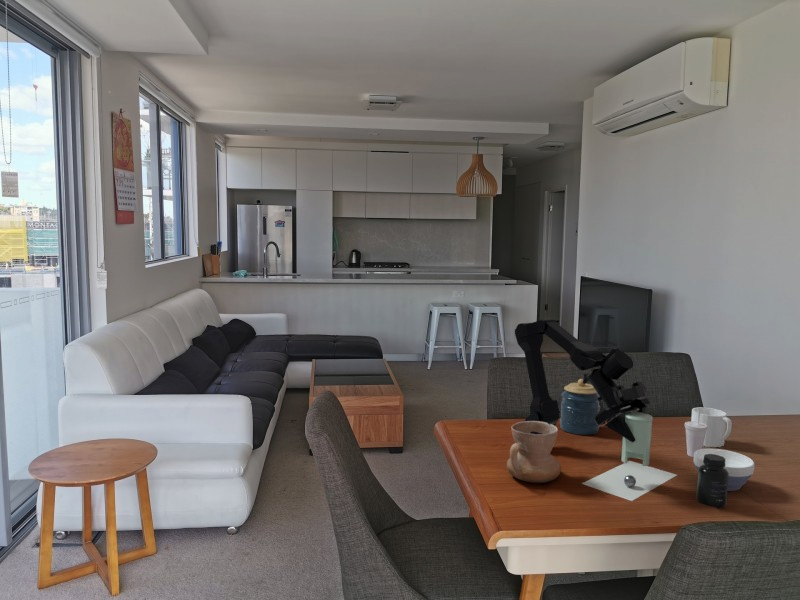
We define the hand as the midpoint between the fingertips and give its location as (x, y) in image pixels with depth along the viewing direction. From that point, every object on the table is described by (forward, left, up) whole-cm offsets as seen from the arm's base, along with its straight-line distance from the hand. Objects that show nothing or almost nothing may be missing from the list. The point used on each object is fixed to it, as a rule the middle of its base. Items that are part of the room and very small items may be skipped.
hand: (641, 438), depth 163 cm
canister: (-19, +45, -14) cm, 50 cm away
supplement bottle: (+17, -3, -14) cm, 22 cm away
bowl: (+21, +11, -14) cm, 27 cm away
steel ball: (-2, -2, -11) cm, 12 cm away
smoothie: (+16, +33, -13) cm, 39 cm away
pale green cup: (-1, +1, -7) cm, 7 cm away
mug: (+22, +47, -14) cm, 54 cm away
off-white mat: (-2, +4, -13) cm, 14 cm away
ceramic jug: (-27, -4, -14) cm, 31 cm away
